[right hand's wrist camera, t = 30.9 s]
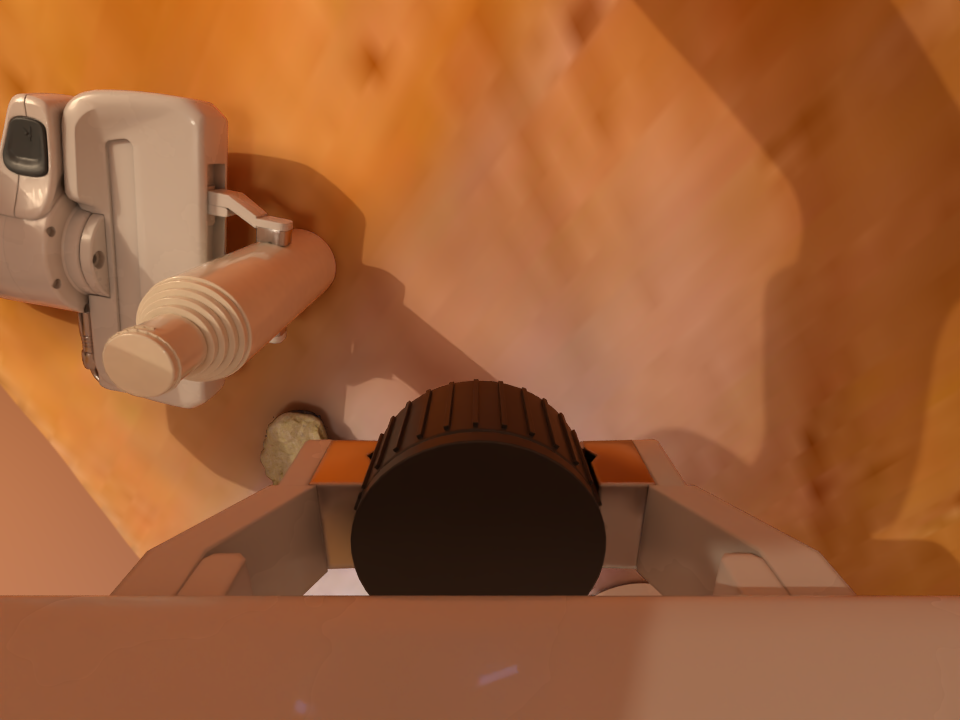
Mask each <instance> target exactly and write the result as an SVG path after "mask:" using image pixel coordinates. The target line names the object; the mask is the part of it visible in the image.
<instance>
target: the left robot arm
mask: <svg viewBox="0 0 960 720" xmlns="http://www.w3.org/2000/svg"><path fill="white" fill-rule="evenodd" d="M227 155H228V122H227V119H226V118H225V116H224V115H223V114H222V113H221V112H220V111H219V110H218V109H217V108H216V107H215V106H214V105H213V104H212V103H210V102H205V101H201V100H196V99H190V98H185V97H178V96H172V95H165V94H158V93H150V92H141V91H128V90H91V91H86V92H83V93H80V94H78V95H76V96H70V95H63V94H52V93H24V94H17V95H15V96H13V97H12V99H11V100H10V102H9V105H8V110H7V114H6V120H5V125H4V130H3V135H2V140H1V144H0V298H4V299H9V300H14V301H20V302H25V303H31V304H36V305H42V306H47V307H54V308H59V309H64V310H70V311H75V312H77V315H78V324H79V331H80V336H81V339H82V346H83V350H82V361H83V364H84V366H85V368H86V369H90V370H91V373H92V374H93V376H94V377H95V379H96V380H97V381H98V382H99V383H100V385H101V386H102V387H104V388H106V389H109V390H114V391H120V392H123V391H122V390H120V389H119V388H117V386H116V385H115V384H114V383H113V382H112V381H111V380H110V378H109V377H108V375H107V374H106V372H105V369H104V366H103V363H102V361H103V359H102V352H103V349H104V345H105V344H106V342H107V341H108V340H109V338H110V337H111V336H113V335H114V334H116V333H117V332H119V331H122V330H124V329H125V328H128V327H131V326H135V325H136V315H137V310H138V307H139V305H140V302H141V301H142V299H143V297H144V296H145V295H146V293H147V292H148V291H149V290H150V289H151V287H153V286H154V285H155V284H156V283H158V282H160V281H162V280H164V279H166V278H169V277H171V276H174V275H176V274H179V273H181V272H184V271H186V270H189V269H191V268H194V267H196V266H199V265H201V264H203V263H206V262H208V261H211V260H213V259H216V258H218V257H221V256H223V255H226V231H227V217H229V216H233V215H238V216H239V217H241V218H242V219H243V220H245V221H246V222H247V223H249V224H250V225H251V226H253V227H254V228H256V242H261V243H269V242H271V243H272V244H274V245H277V246H287V245H288V244H291V242H292V229H293V221H291V220H288V219H284V218H279V217H274V216H269V215H267V212H265V211H264V210H263V209H262V208H261V207H259V206H258V205H257V204H256V203H255V202H253V201H252V200H251V199H250V198H248V197H247V196H246V195H245V194H244V193H242V192H237V191H232V190H227ZM286 331H287V326H286V327H285V328H284V329H283V330H282V331H281V332H280V333H279V334H278V335H276V336H275V337H274V338H273V339H272V340H271V341H270V342H269V343H281V342H282V341H283V340H284V339H285V338H286ZM224 381H225V378H222V379H218V380H214V381H207V382H196V381H189V380H186V379H182V380H181V381H180V383H179V384H178V385H177V386H176V388H174V389H173V390H171V391H170V392H168V393H165V394H162V395H159V396H156V397H149V398H146V399H150V400H153V401H157V402H160V403H164V404H168V405H172V406H177V407H181V408H195V407H197V406H199V405H201V404H203V403H205V402H207V401H208V400H209V399H210V398H211V397H213V396H214V395H215V394H216V393H217V392H218V391H219V390H220V389H221V388H222V387H223V385H224ZM126 393H127V392H126ZM143 398H145V397H143Z"/></svg>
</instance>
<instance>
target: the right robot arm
mask: <svg viewBox="0 0 960 720" xmlns="http://www.w3.org/2000/svg"><path fill="white" fill-rule="evenodd" d="M377 442H378V441H368V440H332V439H328V440H308V441H306V442H305V443H304V445H303V446H302V448H301V449H300V451H299V453H298V454H297V456H296V457H295V459H294V460H293V462H292V464H291V465H290V467H289V468H288V470H287V472H286V473H285V475H284V476H283V478H282V480H281V481H280V483H279V484H278V485H270V486H268V487H266V488H264V489H262V490H260V491H259V492H257V493H255V494H253V495H251V496H249V497H247V498H246V499H244V500H242V501H240V502H238V503H236V504H234V505H233V506H231V507H229V508H227V509H225V510H223V511H221V512H219V513H218V514H216V515H214V516H212V517H210V518H208V519H206V520H205V521H203V522H201V523H199V524H197V525H195V526H193V527H191V528H190V529H188V530H186V531H184V532H182V533H180V534H178V535H177V536H175V537H173V538H171V539H169V540H167V541H165V542H164V543H162V544H160V545H158V546H156V547H154V548H152V549H150V550H149V551H147V552H146V553H145V554H144V556H143V557H142V558H141V559H140V560H139V562H138V563H137V564H136V565H135V566H134V567H133V569H132V570H131V571H130V572H129V573H128V574H127V576H126V577H125V578H124V579H123V580H122V581H121V583H120V584H119V585H118V586H117V587H116V588H115V590H114V591H113V592H112V593H111V594H110V595H109V596H0V720H960V596H857V595H856V594H855V593H854V591H853V590H852V589H851V588H850V587H849V586H848V585H847V583H846V582H845V581H844V580H843V579H842V578H841V576H840V575H839V574H838V573H837V572H836V571H835V569H834V568H833V567H832V566H831V565H830V564H829V563H828V561H827V560H826V559H825V558H824V557H823V556H822V554H821V553H820V552H819V551H817V550H815V549H813V548H811V547H809V546H807V545H805V544H804V543H802V542H800V541H798V540H796V539H794V538H792V537H790V536H789V535H787V534H785V533H783V532H781V531H779V530H777V529H775V528H774V527H772V526H770V525H768V524H766V523H764V522H762V521H760V520H759V519H757V518H755V517H753V516H751V515H749V514H747V513H745V512H744V511H742V510H740V509H738V508H736V507H734V506H732V505H730V504H729V503H727V502H725V501H723V500H721V499H719V498H717V497H715V496H714V495H712V494H710V493H708V492H706V491H704V490H702V489H700V488H699V487H697V486H695V485H686V484H685V482H684V480H683V479H682V477H681V476H680V474H679V473H678V471H677V470H676V468H675V467H674V465H673V464H672V462H671V460H670V459H669V457H668V456H667V454H666V453H665V451H664V450H663V448H662V447H661V445H660V444H659V442H658V441H656V440H654V439H648V440H611V441H581V442H580V446H581V448H582V451H583V454H584V457H585V458H586V460H587V463H588V466H589V468H590V474H591V476H592V479H593V482H594V485H595V487H596V490H597V493H598V494H599V497H600V499H601V502H602V506H599V508H600V511H601V514H602V517H603V520H604V524H605V531H606V553H605V558H604V564H603V566H602V568H624V569H637V570H636V571H637V572H638V573H639V574H640V575H641V576H642V577H643V578H644V579H645V580H647V581H648V582H649V583H636V584H627V585H622V586H618V587H614V588H611V589H608V590H606V591H603V592H601V593H599V594H597V595H596V596H303V595H304V594H305V593H306V592H307V591H308V590H309V589H310V588H311V587H312V586H313V585H314V584H315V583H316V582H317V581H318V580H319V579H320V578H321V577H322V576H323V575H324V574H325V573H326V572H328V570H327V569H340V568H355V567H354V563H353V559H352V554H351V541H350V538H351V529H352V524H353V520H354V517H355V513H356V510H354V507H355V504H356V501H357V499H361V496H362V493H363V490H364V489H362V488H361V486H362V483H363V480H364V478H365V475H366V472H367V469H368V467H369V464H370V461H371V458H372V456H373V453H374V450H375V447H376V444H377Z"/></svg>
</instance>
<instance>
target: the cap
mask: <svg viewBox="0 0 960 720" xmlns="http://www.w3.org/2000/svg"><path fill="white" fill-rule="evenodd" d="M361 488H362V489H364V490H363V493H362V496H361V499H357V501H356V504H355V507H354V510H356V513H355V517H354V520H353V524H352V529H351V538H350V541H351V554H352V559H353V563H354V567H355V570H356V572H357V575H358V577H359V580H360V581H361V583H362V585H363V587H364V588H365V590H366V591H367V593H368V594H369V595H370V596H587V595H588V594H589V593H590V591H591V590H592V588H593V587H594V585H595V583H596V581H597V579H598V577H599V575H600V572H601V569H602V566H603V564H604V558H605V553H606V531H605V524H604V520H603V517H602V514H601V511H600V508H599V506H602V502H601V499H600V497H599V494H598V493H597V490H596V487H595V485H594V482H593V479H592V476H591V474H590V468H589V466H588V463H587V460H586V458H585V457H584V454H583V451H582V448H581V446H580V443H579V440H578V437H577V434H576V432H575V430H572V431H571V429H570V427H569V426H568V424H567V423H566V421H565V418H564V415H563V414H562V413H558V412H557V411H556V410H555V409H554V408H552V407H551V406H550V405H549V404H548V403H547V400H546V399H544V398H543V399H540V398H539V397H537V396H535V395H534V394H532V393H530V392H527V390H526V388H523V387H522V389H521V388H518V387H514V386H511V385H508V384H503V382H502V381H498V383H497V382H492V381H478V379H474V381H467V382H460V383H454V382H450V383H449V385H446V386H442V387H439V388H437V389H434V390H432V391H431V389H429V390H427V391H426V394H424V395H422V396H420V397H419V398H417V399H415V400H414V401H412V402H411V401H409V402H407V404H406V407H405V408H404V409H403V410H401V411H400V413H399V414H398V415H397V416H396V417H394V416H392V418H391V419H390V422H389V425H388V428H387V429H386V431H385V433H384V434H382V433H381V434H380V436H379V439H378V442H377V444H376V447H375V450H374V453H373V456H372V458H371V461H370V464H369V467H368V469H367V472H366V475H365V478H364V480H363V483H362V486H361Z"/></svg>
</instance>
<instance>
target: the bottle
mask: <svg viewBox="0 0 960 720" xmlns="http://www.w3.org/2000/svg"><path fill="white" fill-rule="evenodd" d="M335 273H336V263H335V258H334V255H333V253H332V251H331V249H330V247H329V246H328V245H327V243H326V242H325V241H324V240H323V239H322V238H320V237H319V236H318V235H316V234H314V233H312V232H310V231H307V230H303V229H292V242H291V244H288V245H287V246H277V245H274V244H272V243H271V242H269V243H261V242H255V243H253V244H251V245H248V246H246V247H243V248H241V249H238V250H236V251H233V252H231V253H228V254H226V255H223V256H221V257H218V258H216V259H213V260H211V261H208V262H206V263H203V264H201V265H199V266H196V267H194V268H191V269H189V270H186V271H184V272H181V273H179V274H176V275H174V276H171V277H169V278H166V279H164V280H162V281H160V282H158V283H156V284H155V285H154V286H153V287H151V289H150V290H149V291H148V292H147V293H146V295H145V296H144V297H143V299H142V301H141V302H140V305H139V307H138V310H137V315H136V325H135V326H131V327H128V328H125V329H124V330H122V331H119V332H117V333H116V334H114V335H113V336H111V337H110V338H109V340H108V341H107V342H106V344H105V345H104V349H103V352H102V359H103V361H102V363H103V366H104V369H105V372H106V374H107V375H108V377H109V378H110V380H111V381H112V382H113V383H114V384H115V385H116V386H117V388H119V389H120V390H122V391H123V392H125V393H126V392H127V393H129V394H131V395H134V396H138V397H145V398H149V397H156V396H159V395H162V394H165V393H168V392H170V391H171V390H173V389H174V388H176V386H177V385H178V384H179V383H180V381H181V380H182V379H186V380H189V381H196V382H207V381H214V380H218V379H222V378H225V377H228V376H230V375H232V374H234V373H235V372H236V371H238V370H239V369H240V368H241V367H242V366H243V365H245V364H246V363H247V362H248V361H249V360H250V359H251V358H252V357H253V356H254V355H256V354H257V353H258V352H259V351H260V350H261V349H262V348H263V347H264V346H265V345H267V344H268V343H269V342H270V341H271V340H272V339H273V338H274V337H275V336H276V335H278V334H279V333H280V332H281V331H282V330H283V329H284V328H285V327H286V326H288V325H289V324H290V323H291V322H292V321H293V320H294V319H295V318H296V317H297V316H299V315H300V314H301V313H302V312H303V311H304V310H305V309H306V308H307V307H308V306H310V305H311V304H312V303H313V302H314V301H315V300H316V299H317V298H318V297H319V296H321V295H322V294H323V293H324V292H325V291H326V290H327V289H328V288H329V287H330V285H331V284H332V282H333V280H334V277H335Z"/></svg>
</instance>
